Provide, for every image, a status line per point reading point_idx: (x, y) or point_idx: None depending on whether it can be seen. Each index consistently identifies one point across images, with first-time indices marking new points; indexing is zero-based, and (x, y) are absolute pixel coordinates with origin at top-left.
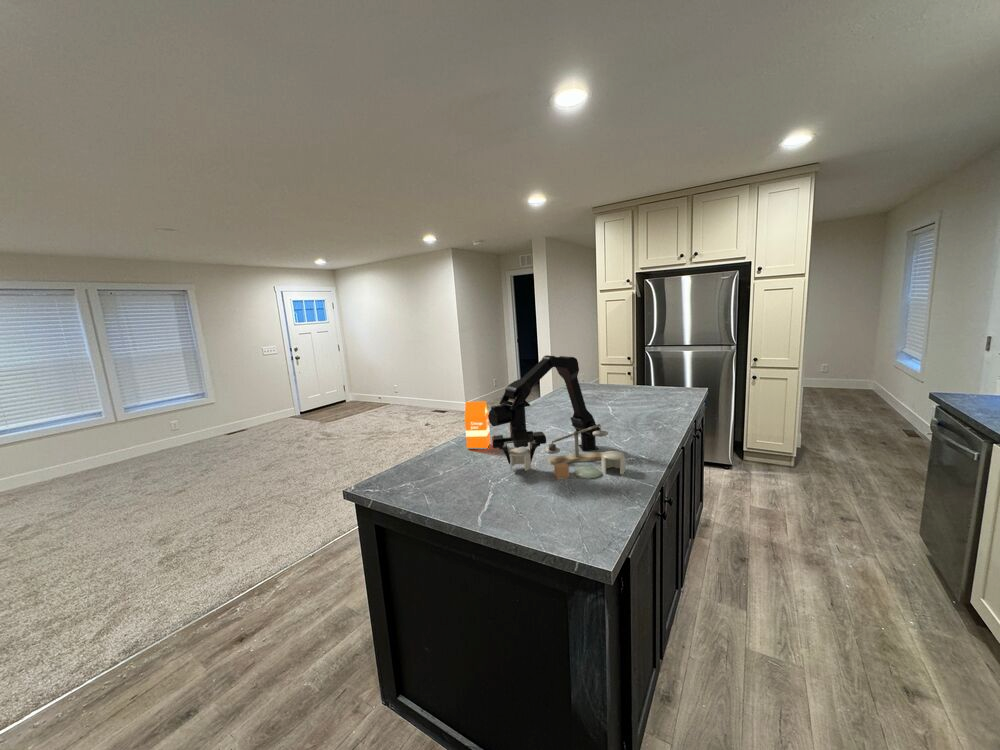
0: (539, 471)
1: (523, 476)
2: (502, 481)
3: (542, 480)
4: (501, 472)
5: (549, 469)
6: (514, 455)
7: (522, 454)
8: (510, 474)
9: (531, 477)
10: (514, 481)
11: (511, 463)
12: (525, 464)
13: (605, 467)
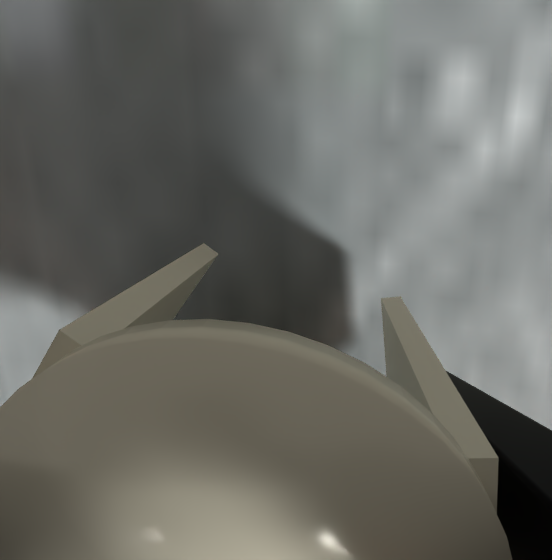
0: (95, 303)
1: (246, 189)
2: (526, 37)
3: (27, 55)
4: (502, 328)
5: (14, 336)
6: (360, 364)
7: (98, 345)
8: (397, 261)
9: (156, 153)
10: (356, 33)
11: (403, 337)
12: (169, 264)
13: None
